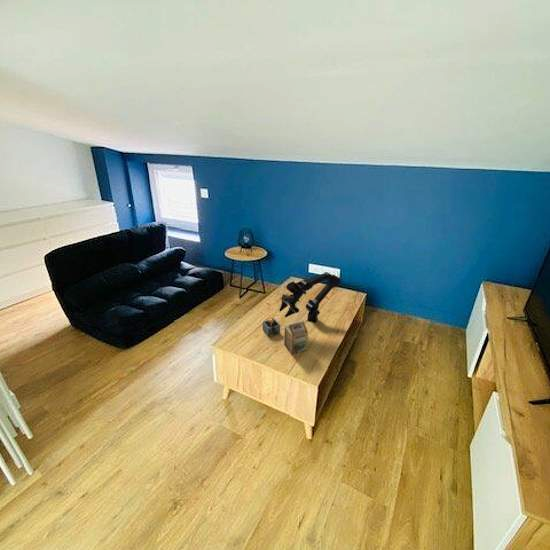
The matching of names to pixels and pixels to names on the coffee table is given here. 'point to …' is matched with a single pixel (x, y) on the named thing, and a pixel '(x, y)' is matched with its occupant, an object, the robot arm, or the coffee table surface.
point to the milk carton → (296, 337)
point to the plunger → (271, 321)
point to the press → (271, 328)
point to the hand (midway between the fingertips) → (282, 314)
